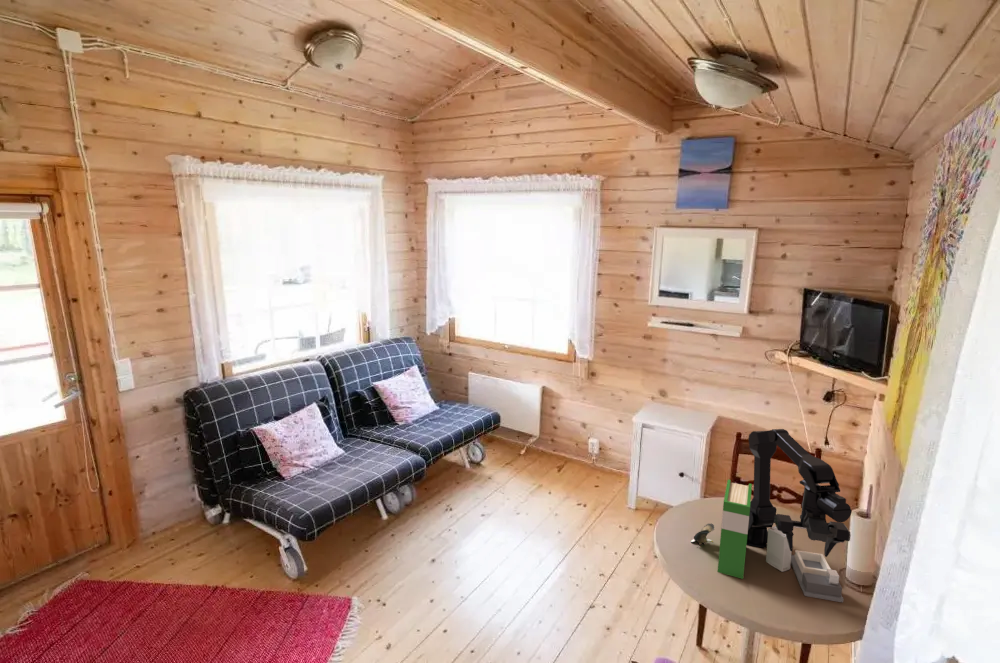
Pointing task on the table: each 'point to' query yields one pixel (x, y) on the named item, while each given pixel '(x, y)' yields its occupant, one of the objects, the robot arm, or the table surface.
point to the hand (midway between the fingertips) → (808, 553)
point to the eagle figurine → (703, 535)
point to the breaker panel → (814, 576)
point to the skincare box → (778, 550)
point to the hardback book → (734, 529)
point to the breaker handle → (832, 576)
